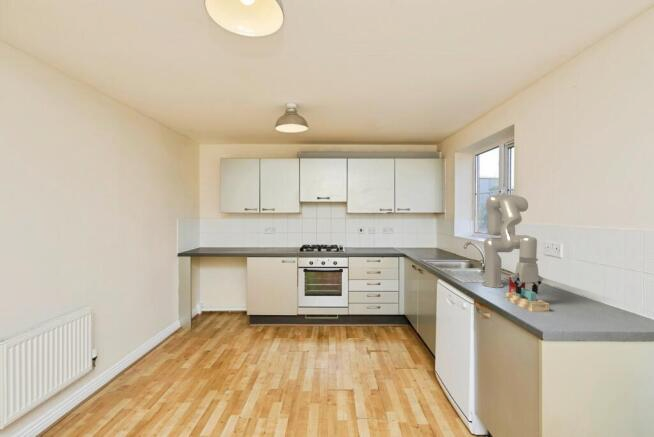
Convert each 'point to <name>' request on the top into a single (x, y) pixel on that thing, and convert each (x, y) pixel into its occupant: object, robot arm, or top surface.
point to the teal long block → (527, 294)
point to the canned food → (512, 286)
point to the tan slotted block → (528, 303)
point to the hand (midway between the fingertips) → (526, 293)
